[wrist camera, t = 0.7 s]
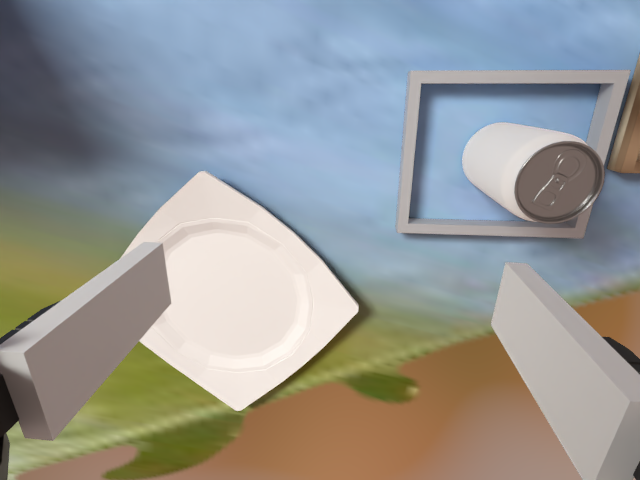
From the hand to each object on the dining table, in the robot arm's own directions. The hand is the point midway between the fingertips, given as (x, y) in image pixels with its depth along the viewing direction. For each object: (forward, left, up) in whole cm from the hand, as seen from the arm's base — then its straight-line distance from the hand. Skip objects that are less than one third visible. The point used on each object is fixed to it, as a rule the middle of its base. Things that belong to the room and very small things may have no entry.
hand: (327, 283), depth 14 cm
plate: (+16, -13, -25) cm, 33 cm away
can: (-1, +15, -25) cm, 29 cm away
